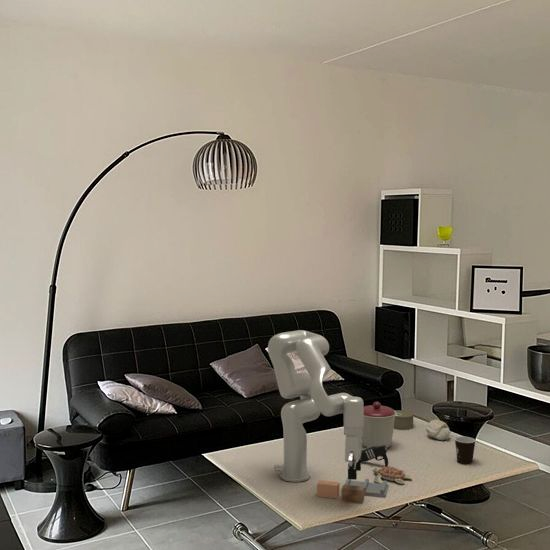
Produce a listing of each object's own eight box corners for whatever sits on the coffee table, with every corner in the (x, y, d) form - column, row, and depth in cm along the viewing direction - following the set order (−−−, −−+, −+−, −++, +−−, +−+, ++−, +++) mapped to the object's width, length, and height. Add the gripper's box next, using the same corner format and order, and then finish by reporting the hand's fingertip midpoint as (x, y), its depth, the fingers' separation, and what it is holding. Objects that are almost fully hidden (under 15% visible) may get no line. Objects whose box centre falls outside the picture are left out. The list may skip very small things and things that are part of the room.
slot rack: (341, 492, 277) (341, 486, 277) (346, 482, 288) (346, 476, 287) (385, 497, 272) (385, 490, 272) (388, 486, 283) (388, 480, 283)
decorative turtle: (384, 468, 304) (384, 457, 304) (419, 477, 294) (419, 465, 293) (361, 480, 290) (361, 469, 290) (397, 490, 280) (397, 478, 280)
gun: (363, 474, 312) (353, 452, 314) (394, 463, 304) (384, 441, 306) (360, 476, 310) (351, 454, 311) (392, 465, 302) (382, 443, 303)
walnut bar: (341, 501, 269) (341, 488, 269) (343, 497, 273) (343, 484, 273) (362, 503, 267) (362, 490, 267) (364, 499, 271) (364, 486, 271)
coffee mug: (474, 466, 305) (474, 443, 304) (453, 464, 308) (454, 441, 307) (475, 457, 316) (476, 435, 315) (455, 455, 319) (456, 433, 318)
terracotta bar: (316, 496, 274) (316, 483, 274) (319, 492, 278) (319, 480, 278) (337, 498, 272) (337, 485, 272) (339, 494, 276) (339, 482, 275)
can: (418, 428, 360) (418, 414, 359) (400, 431, 354) (400, 418, 353) (402, 422, 370) (403, 409, 369) (384, 425, 364) (384, 412, 363)
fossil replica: (446, 443, 336) (452, 439, 344) (448, 426, 335) (455, 422, 344) (421, 437, 342) (429, 433, 351) (424, 420, 342) (431, 417, 350)
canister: (377, 455, 319) (378, 409, 317) (348, 445, 333) (349, 401, 331) (404, 447, 330) (404, 402, 328) (375, 437, 344) (375, 395, 342)
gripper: (348, 423, 277) (348, 466, 278) (339, 436, 260) (340, 482, 262) (367, 424, 275) (367, 467, 276) (360, 437, 258) (360, 483, 260)
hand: (354, 474), depth 269 cm, fingers open, 9 cm apart
